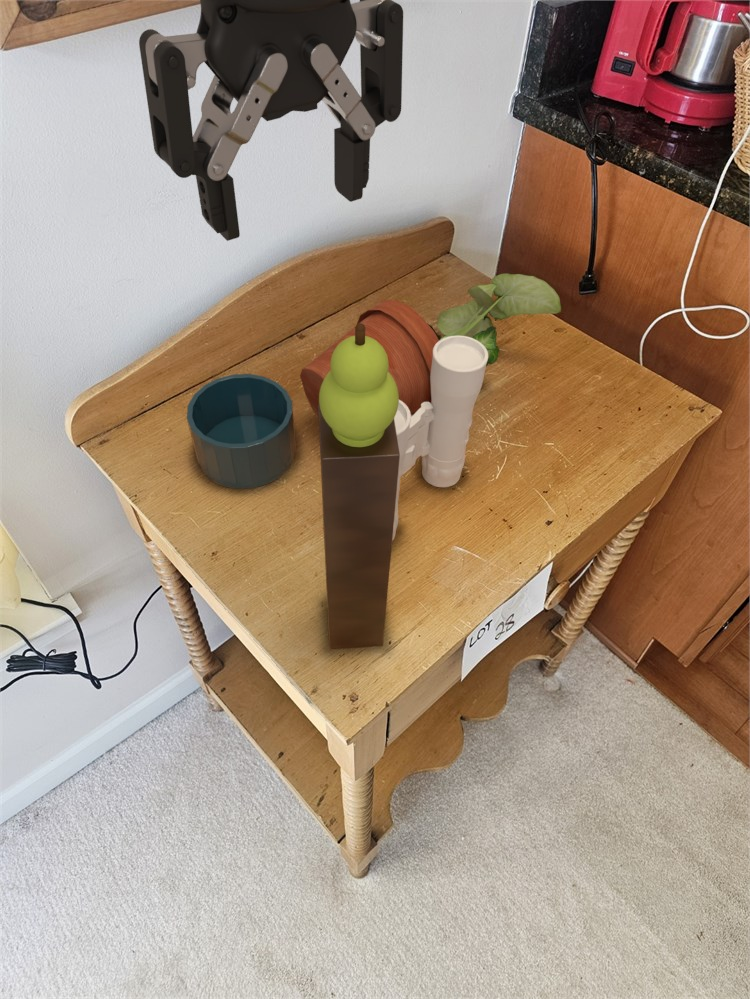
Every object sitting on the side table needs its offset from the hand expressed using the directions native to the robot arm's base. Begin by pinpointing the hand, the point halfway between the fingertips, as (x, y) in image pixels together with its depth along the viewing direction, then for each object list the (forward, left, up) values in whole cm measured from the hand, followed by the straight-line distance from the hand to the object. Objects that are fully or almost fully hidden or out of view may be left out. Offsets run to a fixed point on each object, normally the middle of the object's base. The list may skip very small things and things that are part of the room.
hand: (289, 213), depth 43 cm
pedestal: (+4, -7, -40) cm, 40 cm away
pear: (+4, -7, -12) cm, 14 cm away
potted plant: (+16, +27, -40) cm, 51 cm away
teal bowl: (-7, +17, -40) cm, 44 cm away
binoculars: (+11, +8, -40) cm, 42 cm away
